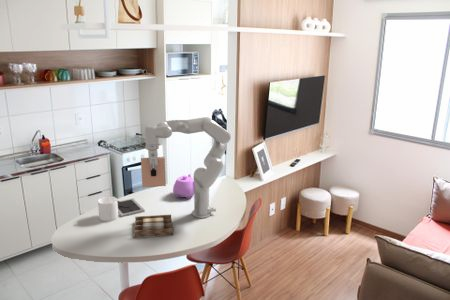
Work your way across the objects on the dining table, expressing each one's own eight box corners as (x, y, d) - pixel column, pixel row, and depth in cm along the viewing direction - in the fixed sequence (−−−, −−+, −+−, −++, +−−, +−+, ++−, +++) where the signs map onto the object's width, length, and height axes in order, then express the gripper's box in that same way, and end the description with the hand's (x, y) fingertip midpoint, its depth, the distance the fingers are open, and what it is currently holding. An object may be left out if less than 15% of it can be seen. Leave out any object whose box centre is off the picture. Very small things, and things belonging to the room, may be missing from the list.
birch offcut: (163, 226, 240) (163, 217, 239) (163, 229, 237) (163, 220, 235) (143, 227, 238) (143, 218, 236) (143, 230, 234) (143, 221, 233)
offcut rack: (171, 220, 248) (171, 214, 247) (172, 235, 230) (172, 228, 229) (135, 222, 244) (135, 216, 243) (134, 237, 227) (134, 231, 225)
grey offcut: (164, 231, 234) (163, 222, 233) (163, 234, 231) (163, 225, 229) (143, 232, 233) (143, 223, 231) (143, 235, 229) (142, 226, 228)
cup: (118, 212, 256) (117, 195, 253) (118, 220, 245) (117, 203, 242) (99, 213, 254) (98, 196, 250) (98, 222, 243) (97, 204, 239)
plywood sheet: (165, 184, 242) (164, 156, 236) (165, 185, 240) (164, 158, 234) (142, 185, 239) (140, 158, 234) (142, 187, 237) (140, 159, 231)
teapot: (204, 191, 293) (204, 172, 289) (196, 201, 275) (196, 182, 270) (179, 187, 298) (179, 169, 293) (170, 198, 279) (169, 178, 274)
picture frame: (111, 206, 266) (121, 218, 250) (110, 202, 266) (121, 214, 249) (133, 201, 275) (144, 212, 258) (133, 197, 274) (144, 208, 258)
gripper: (159, 149, 225) (160, 179, 231) (158, 141, 240) (159, 170, 246) (146, 150, 223) (147, 180, 229) (145, 142, 238) (147, 170, 244)
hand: (153, 174), depth 237 cm, fingers closed on plywood sheet, 2 cm apart
